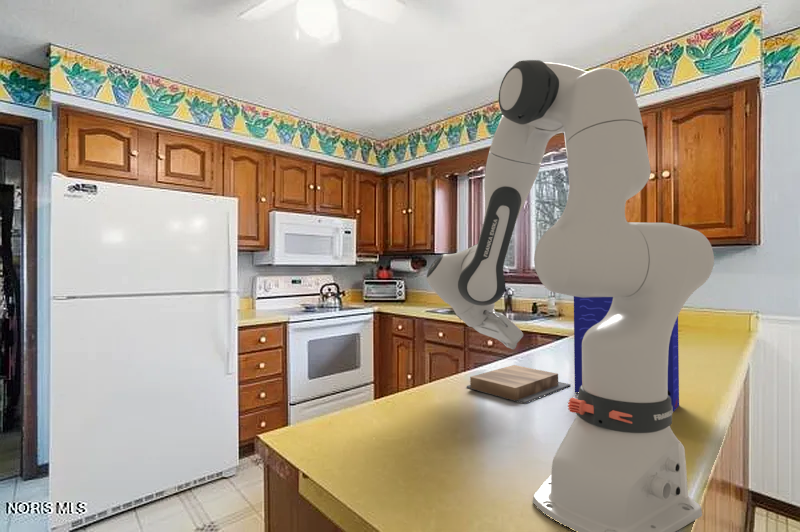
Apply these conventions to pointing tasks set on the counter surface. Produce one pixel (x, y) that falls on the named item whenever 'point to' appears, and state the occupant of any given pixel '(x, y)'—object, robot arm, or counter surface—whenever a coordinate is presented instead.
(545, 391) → the mat
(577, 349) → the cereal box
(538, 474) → the counter surface
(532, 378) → the board
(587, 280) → the robot arm
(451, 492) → the counter surface
